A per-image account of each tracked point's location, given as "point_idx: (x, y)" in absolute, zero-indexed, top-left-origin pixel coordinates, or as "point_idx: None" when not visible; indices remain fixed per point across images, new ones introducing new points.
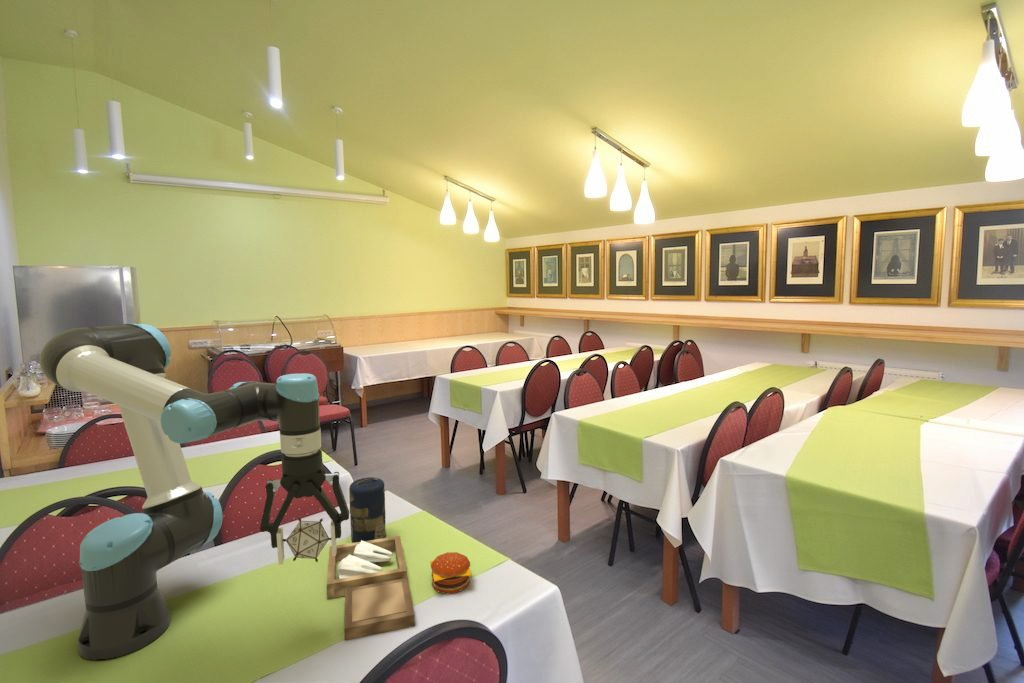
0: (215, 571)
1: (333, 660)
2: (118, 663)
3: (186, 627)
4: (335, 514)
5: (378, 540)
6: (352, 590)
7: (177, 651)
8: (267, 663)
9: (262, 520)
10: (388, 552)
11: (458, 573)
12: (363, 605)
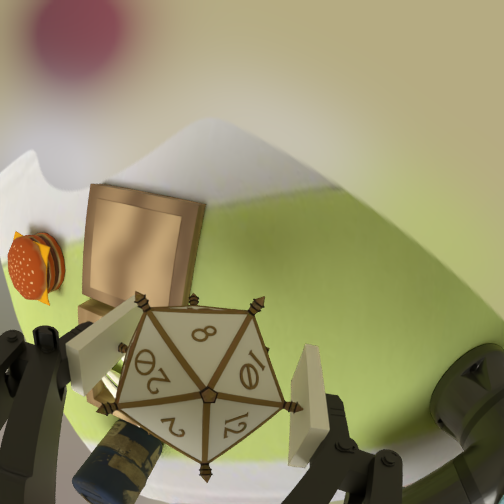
0: None
1: (234, 161)
2: (489, 332)
3: (422, 373)
4: (26, 368)
5: (116, 413)
6: None
7: (443, 324)
8: (339, 216)
9: (398, 496)
10: (103, 377)
11: (21, 237)
12: (154, 256)
